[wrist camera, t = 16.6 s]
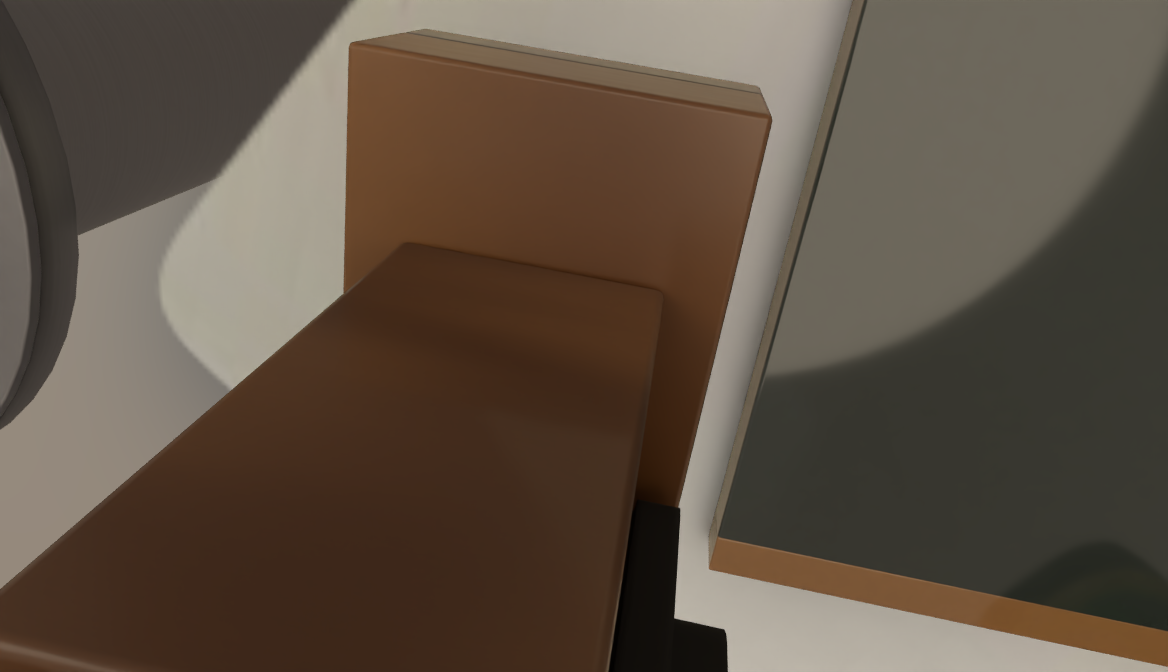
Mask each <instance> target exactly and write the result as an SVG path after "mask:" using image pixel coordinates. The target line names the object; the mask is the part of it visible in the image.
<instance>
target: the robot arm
mask: <svg viewBox="0 0 1168 672" xmlns="http://www.w3.org/2000/svg"><path fill="white" fill-rule="evenodd" d="M679 528H680V508H677V507H673V506H668V505H663V504H658V503H654V502H649V501H644V500H639V499H637V503H636V507H635V510H632V517H631V523H630V530H629V537H628V543H627V550H626V557H625V564H624V570H623V577H622V584H621V590H620V597H619V604H618V611H617V617H616V624H615V631H614V637H613V644H612V651H611V658H610V664H609V671H608V672H728V660H727V638H726V633H725V630H724V629H719V628H715V627H710V626H706V625H701V624H697V623H692V622H688V621H683V620H679V619H674V612H675V595H676V578H677V562H678V545H679Z"/></svg>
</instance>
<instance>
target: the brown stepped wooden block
mask: <svg viewBox="0 0 1168 672" xmlns="http://www.w3.org/2000/svg"><path fill="white" fill-rule="evenodd" d="M771 124H772V116H771V114H770V112H769V109H768V107H767V104H766V102H765V100H764V97H763V95H762V93H761V90H760V88H759V87H757V86H755V85H749V84H744V83H738V82H732V81H726V80H720V79H715V78H709V77H703V76H697V75H691V74H686V73H680V72H674V71H668V70H662V69H657V68H651V67H645V66H639V65H633V64H627V63H622V62H616V61H610V60H604V59H598V58H593V57H587V56H581V55H575V54H569V53H564V52H558V51H552V50H546V49H540V48H535V47H529V46H523V45H517V44H511V43H506V42H500V41H494V40H488V39H482V38H477V37H471V36H465V35H459V34H453V33H448V32H442V31H436V30H430V29H422V30H416V31H411V32H406V33H400V34H394V35H389V36H383V37H378V38H372V39H367V40H361V41H356V42H352V43H350V46H349V66H348V113H347V159H346V206H345V253H344V294H343V295H342V296H340V297H339V298H338V299H337V300H336V301H335V302H333V303H332V304H331V305H330V306H329V307H328V308H326V309H325V310H324V311H323V312H322V313H321V314H319V315H318V316H317V317H316V318H315V319H314V320H312V321H311V322H310V323H309V324H308V325H307V326H306V327H304V328H303V329H302V330H301V331H300V332H299V333H297V334H296V335H295V336H294V337H293V338H292V339H290V340H289V341H288V342H287V343H286V344H285V345H283V346H282V347H281V348H280V349H279V350H278V351H276V352H275V353H274V354H273V355H272V356H271V357H269V358H268V359H267V360H266V361H265V362H264V363H263V364H261V365H260V366H259V367H258V368H257V369H256V370H254V371H253V372H252V373H251V374H250V375H249V376H247V377H246V378H245V379H244V380H243V381H242V382H240V383H239V384H238V385H237V386H236V387H235V388H233V389H232V390H231V391H230V392H229V393H228V394H226V395H225V396H224V397H223V398H222V399H221V400H220V401H218V402H217V403H216V404H215V405H214V406H213V407H211V408H210V409H209V410H208V411H207V412H206V413H204V414H203V415H202V416H201V417H200V418H199V419H197V420H196V421H195V422H194V423H193V424H192V425H190V426H189V427H188V428H187V429H186V430H185V431H183V432H182V433H181V434H180V435H179V436H178V437H177V438H175V439H174V440H173V441H172V442H171V443H170V444H168V445H167V446H166V447H165V448H164V449H163V450H161V451H160V452H159V453H158V454H157V455H156V456H154V458H152V459H151V460H150V461H149V462H148V463H146V464H145V465H144V466H143V467H142V468H140V469H139V470H138V471H137V472H136V473H135V474H134V475H132V476H131V477H130V478H129V479H128V480H127V481H125V482H124V483H123V484H122V485H121V486H120V487H118V488H117V489H116V490H115V491H114V492H113V493H112V494H110V495H109V496H108V497H107V498H106V499H104V500H103V501H102V502H101V503H100V504H99V505H98V506H96V507H95V508H94V509H93V510H92V511H91V512H89V513H88V514H87V515H86V516H85V517H84V518H82V519H81V520H80V521H79V522H78V523H77V524H76V525H74V526H73V527H72V528H71V529H70V530H68V531H67V532H66V533H65V534H64V535H63V536H61V537H60V538H59V539H58V540H57V541H56V542H54V544H52V545H51V546H50V547H49V548H48V549H46V550H45V551H44V552H43V553H42V554H41V555H39V556H38V557H37V558H36V559H35V560H34V561H32V562H31V563H30V564H29V565H28V566H27V567H26V568H24V569H23V570H22V571H21V572H20V573H18V574H17V575H16V576H15V577H14V578H13V579H12V580H10V581H9V582H8V583H7V584H6V585H5V586H3V587H2V588H1V589H0V672H608V671H609V664H610V658H611V651H612V644H613V637H614V631H615V624H616V617H617V611H618V604H619V597H620V590H621V584H622V577H623V570H624V564H625V557H626V550H627V543H628V537H629V530H630V523H631V517H632V510H635V507H636V503H637V499H639V500H644V501H649V502H654V503H658V504H663V505H668V506H673V507H677V508H678V506H679V502H680V498H681V494H682V490H683V486H684V482H685V478H686V474H687V470H688V465H689V461H690V457H691V453H692V449H693V445H694V441H695V437H696V433H697V428H698V424H699V420H700V416H701V412H702V408H703V404H704V400H705V396H706V391H707V387H708V383H709V379H710V375H711V371H712V367H713V363H714V359H715V354H716V350H717V346H718V342H719V338H720V334H721V330H722V326H723V322H724V318H725V313H726V309H727V305H728V301H729V297H730V293H731V289H732V285H733V281H734V276H735V272H736V268H737V264H738V260H739V256H740V252H741V248H742V244H743V239H744V235H745V231H746V227H747V223H748V219H749V215H750V211H751V207H752V202H753V198H754V194H755V190H756V186H757V182H758V178H759V174H760V170H761V166H762V161H763V157H764V153H765V149H766V145H767V141H768V137H769V133H770V129H771Z"/></svg>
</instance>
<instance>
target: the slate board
mask: <svg viewBox="0 0 1168 672" xmlns="http://www.w3.org/2000/svg"><path fill="white" fill-rule="evenodd" d="M709 569H710V570H714V571H718V572H723V573H728V574H733V575H737V576H742V577H747V578H751V579H756V580H761V581H766V582H770V583H775V584H780V585H784V586H789V587H794V588H799V589H803V590H808V591H813V592H817V593H822V594H827V595H832V596H836V597H841V598H846V599H850V600H855V601H860V602H865V603H869V604H874V605H879V606H883V607H888V608H893V609H898V610H902V611H907V612H912V613H916V614H921V615H926V616H931V617H935V618H940V619H945V620H949V621H954V622H959V623H964V624H968V625H973V626H978V627H982V628H987V629H992V630H997V631H1001V632H1006V633H1011V634H1015V635H1020V636H1025V637H1030V638H1034V639H1039V640H1044V641H1048V642H1053V643H1058V644H1063V645H1067V646H1072V647H1077V648H1081V649H1086V650H1091V651H1096V652H1100V653H1105V654H1110V655H1114V656H1119V657H1124V658H1129V659H1133V660H1138V661H1143V662H1147V663H1152V664H1157V665H1162V666H1166V667H1168V0H853V1H852V5H851V8H850V12H849V16H848V20H847V23H846V27H845V31H844V35H843V38H842V42H841V46H840V49H839V53H838V57H837V61H836V64H835V68H834V72H833V76H832V79H831V83H830V87H829V90H828V94H827V98H826V102H825V105H824V109H823V113H822V117H821V120H820V124H819V128H818V131H817V135H816V139H815V143H814V146H813V150H812V154H811V157H810V161H809V165H808V169H807V172H806V176H805V180H804V184H803V187H802V191H801V195H800V198H799V202H798V206H797V210H796V213H795V217H794V221H793V225H792V228H791V232H790V236H789V239H788V243H787V247H786V251H785V254H784V258H783V262H782V266H781V269H780V273H779V277H778V280H777V284H776V288H775V292H774V295H773V299H772V303H771V307H770V310H769V314H768V318H767V321H766V325H765V329H764V333H763V336H762V340H761V344H760V347H759V351H758V355H757V359H756V362H755V366H754V370H753V374H752V377H751V381H750V385H749V388H748V392H747V396H746V400H745V403H744V407H743V411H742V415H741V418H740V422H739V426H738V429H737V433H736V437H735V441H734V444H733V448H732V452H731V456H730V459H729V463H728V467H727V470H726V474H725V478H724V482H723V485H722V489H721V493H720V497H719V500H718V504H717V507H716V511H715V514H714V518H713V522H712V525H711V529H710V533H709Z"/></svg>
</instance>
